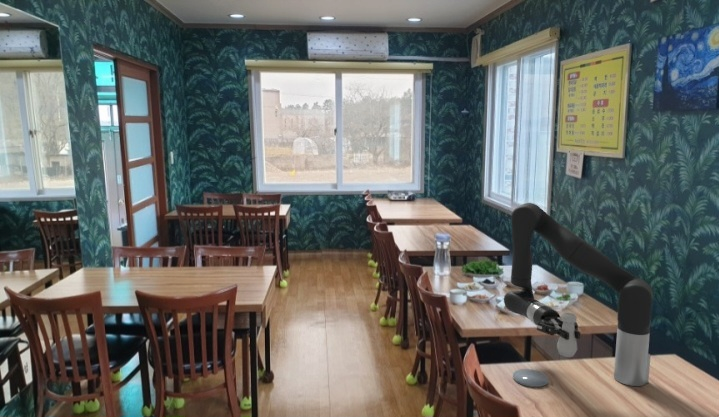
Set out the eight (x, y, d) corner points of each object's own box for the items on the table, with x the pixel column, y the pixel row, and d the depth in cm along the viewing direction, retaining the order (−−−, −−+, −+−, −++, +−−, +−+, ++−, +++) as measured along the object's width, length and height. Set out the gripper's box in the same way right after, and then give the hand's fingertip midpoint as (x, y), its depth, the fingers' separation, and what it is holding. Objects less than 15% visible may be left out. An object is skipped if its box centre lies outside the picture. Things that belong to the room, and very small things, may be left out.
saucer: (536, 370, 171) (537, 368, 171) (554, 386, 160) (555, 383, 160) (506, 373, 169) (507, 370, 169) (523, 389, 158) (523, 386, 158)
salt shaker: (578, 359, 151) (581, 318, 149) (558, 357, 152) (560, 316, 150) (574, 351, 156) (576, 311, 155) (554, 349, 158) (557, 310, 156)
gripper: (524, 306, 165) (552, 326, 148) (562, 304, 168) (595, 323, 151) (522, 328, 166) (551, 350, 150) (561, 325, 169) (593, 346, 152)
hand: (573, 336), depth 150 cm, fingers closed on salt shaker, 3 cm apart
